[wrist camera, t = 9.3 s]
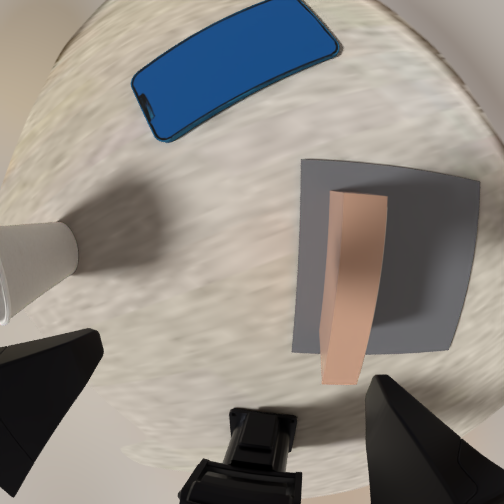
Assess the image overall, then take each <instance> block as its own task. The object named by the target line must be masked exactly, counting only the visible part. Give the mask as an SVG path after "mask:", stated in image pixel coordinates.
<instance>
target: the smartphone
mask: <svg viewBox="0 0 504 504" xmlns="http://www.w3.org/2000/svg"><path fill="white" fill-rule="evenodd" d="M338 52H339V44H338V42H337V40H336V39H335V38H334V37H333V36H332V34H331V33H330V32H329V31H328V30H327V28H326V27H325V26H324V25H323V24H322V23H321V21H320V20H319V19H318V18H317V17H316V16H315V15H314V14H313V13H312V11H311V10H310V9H309V8H308V7H307V6H306V5H305V4H304V3H303V2H302V1H301V0H265V1H262V2H260V3H257V4H255V5H252V6H250V7H247V8H245V9H243V10H241V11H238V12H236V13H234V14H232V15H230V16H227V17H225V18H223V19H221V20H219V21H217V22H215V23H213V24H211V25H210V26H208V27H206V28H204V29H202V30H200V31H199V32H197V33H195V34H193V35H192V36H190V37H188V38H186V39H185V40H183V41H181V42H180V43H178V44H177V45H175V46H173V47H172V48H170V49H169V50H167V51H166V52H164V53H163V54H161V55H160V56H158V57H157V58H156V59H154V60H153V61H151V62H150V63H149V64H147V65H146V66H144V67H143V68H142V69H140V70H139V71H138V72H137V73H136V74H135V75H134V76H133V78H132V80H131V88H132V90H133V92H134V94H135V97H136V99H137V101H138V103H139V105H140V107H141V110H142V112H143V114H144V116H145V118H146V120H147V122H148V124H149V127H150V129H151V131H152V133H153V135H154V137H155V138H156V139H157V140H159V141H161V142H165V143H169V142H172V141H174V140H176V139H177V138H179V137H180V136H182V135H183V134H185V133H186V132H188V131H189V130H191V129H192V128H194V127H196V126H197V125H199V124H200V123H202V122H203V121H205V120H207V119H208V118H210V117H212V116H213V115H215V114H217V113H218V112H220V111H222V110H223V109H225V108H227V107H229V106H230V105H232V104H234V103H236V102H237V101H239V100H241V99H243V98H245V97H247V96H248V95H250V94H252V93H254V92H256V91H258V90H260V89H262V88H264V87H266V86H268V85H270V84H272V83H274V82H276V81H278V80H280V79H283V78H285V77H287V76H289V75H292V74H294V73H296V72H298V71H301V70H303V69H305V68H308V67H310V66H313V65H315V64H318V63H320V62H323V61H325V60H328V59H330V58H333V57H335V56H336V55H337V54H338Z"/></svg>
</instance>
